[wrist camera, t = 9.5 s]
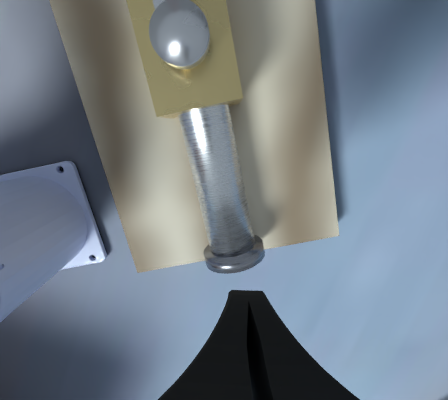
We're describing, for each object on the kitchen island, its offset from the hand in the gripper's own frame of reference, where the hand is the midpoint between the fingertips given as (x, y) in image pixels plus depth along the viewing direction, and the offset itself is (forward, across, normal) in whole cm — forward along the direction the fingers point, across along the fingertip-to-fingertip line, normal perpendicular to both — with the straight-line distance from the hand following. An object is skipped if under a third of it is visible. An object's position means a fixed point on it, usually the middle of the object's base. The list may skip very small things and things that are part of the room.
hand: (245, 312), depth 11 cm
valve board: (+10, +3, -11) cm, 15 cm away
